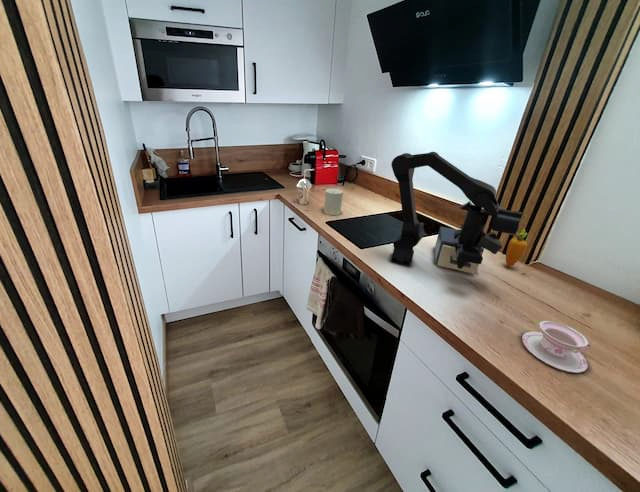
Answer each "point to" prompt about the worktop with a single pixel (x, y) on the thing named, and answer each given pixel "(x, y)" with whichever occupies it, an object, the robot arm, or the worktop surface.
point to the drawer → (454, 260)
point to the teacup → (558, 346)
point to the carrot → (516, 249)
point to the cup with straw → (304, 189)
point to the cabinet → (446, 241)
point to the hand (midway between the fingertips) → (459, 268)
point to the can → (333, 201)
